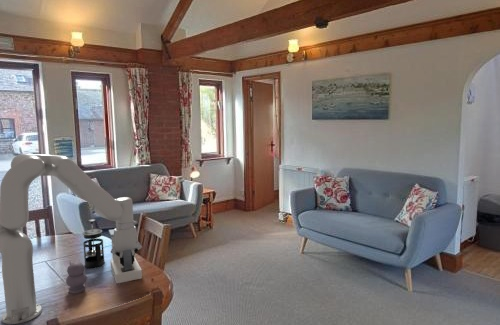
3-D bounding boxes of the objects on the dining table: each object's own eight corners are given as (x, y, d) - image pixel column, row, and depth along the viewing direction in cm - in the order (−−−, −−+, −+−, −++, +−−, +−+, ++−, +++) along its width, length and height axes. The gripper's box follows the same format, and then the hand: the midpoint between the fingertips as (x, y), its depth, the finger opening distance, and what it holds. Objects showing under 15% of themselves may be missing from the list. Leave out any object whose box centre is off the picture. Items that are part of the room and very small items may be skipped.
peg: (131, 270, 168) (129, 245, 167) (132, 273, 165) (130, 247, 164) (123, 272, 167) (121, 246, 165) (124, 274, 164) (123, 249, 162)
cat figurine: (90, 290, 155) (88, 263, 153) (71, 296, 149) (68, 268, 147) (83, 283, 161) (81, 257, 159) (64, 289, 155) (61, 262, 154)
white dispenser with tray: (142, 278, 165) (139, 237, 163) (116, 283, 160) (113, 241, 158) (134, 263, 182) (132, 225, 179) (110, 267, 177) (108, 229, 174)
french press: (80, 264, 181) (77, 219, 178) (99, 259, 187) (97, 215, 184) (90, 271, 173) (86, 224, 170) (109, 265, 179) (106, 220, 176)
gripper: (142, 220, 170) (144, 257, 172) (104, 225, 162) (107, 264, 165) (145, 224, 163) (147, 263, 166) (106, 230, 156) (109, 271, 158)
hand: (127, 263), depth 165 cm, fingers closed on peg, 3 cm apart
